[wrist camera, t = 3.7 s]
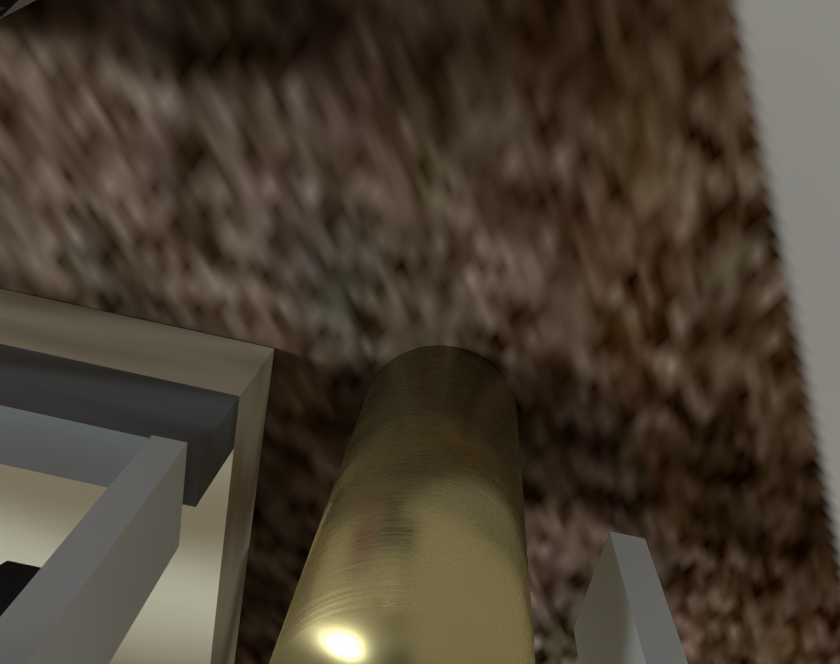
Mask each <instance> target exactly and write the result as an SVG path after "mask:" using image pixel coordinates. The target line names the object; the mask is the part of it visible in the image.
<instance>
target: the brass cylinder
mask: <svg viewBox="0 0 840 664" xmlns="http://www.w3.org/2000/svg"><path fill="white" fill-rule="evenodd" d="M269 664H535V653H534V639H533V626H532V612H531V598H530V584H529V570H528V556H527V542H526V529H525V515H524V501H523V487H522V473H521V459H520V445H519V431H518V418H517V406H516V402H515V398H514V395H513V393H512V390H511V388H510V386H509V385H508V383H507V381H506V380H505V378H504V377H503V376H502V375H501V373H500V372H499V371H498V370H497V369H496V368H495V367H494V366H493V365H491V364H490V363H489V362H487V361H486V360H485V359H483V358H481V357H479V356H478V355H476V354H473V353H471V352H469V351H466V350H463V349H459V348H455V347H448V346H427V347H421V348H417V349H413V350H410V351H408V352H405V353H403V354H401V355H399V356H397V357H396V358H394V359H393V360H391V361H390V362H388V363H387V364H386V365H385V366H384V367H383V368H382V369H381V370H380V371H379V373H378V374H377V375H376V376H375V378H374V380H373V381H372V383H371V385H370V387H369V390H368V392H367V395H366V398H365V400H364V403H363V406H362V409H361V411H360V414H359V417H358V420H357V422H356V425H355V428H354V431H353V433H352V436H351V439H350V442H349V444H348V447H347V450H346V453H345V455H344V458H343V461H342V464H341V467H340V469H339V472H338V475H337V478H336V480H335V483H334V486H333V489H332V491H331V494H330V497H329V500H328V502H327V505H326V508H325V511H324V513H323V516H322V519H321V522H320V524H319V527H318V530H317V533H316V536H315V538H314V541H313V544H312V547H311V549H310V552H309V555H308V558H307V560H306V563H305V566H304V569H303V571H302V574H301V577H300V580H299V582H298V585H297V588H296V591H295V593H294V596H293V599H292V602H291V605H290V607H289V610H288V613H287V616H286V618H285V621H284V624H283V627H282V629H281V632H280V635H279V638H278V640H277V643H276V646H275V649H274V651H273V654H272V657H271V660H270V662H269Z"/></svg>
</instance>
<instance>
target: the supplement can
mask: <svg viewBox="0 0 840 664" xmlns="http://www.w3.org/2000/svg"><path fill="white" fill-rule="evenodd" d="M34 1H36V0H0V19H1V18H3V17H4V16H6V15H8V14H10V13H12V12H14V11H16V10H18V9H20V8H22V7H24V6H26V5H28V4H30V3H32V2H34Z"/></svg>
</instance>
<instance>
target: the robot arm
mask: <svg viewBox="0 0 840 664" xmlns="http://www.w3.org/2000/svg"><path fill="white" fill-rule="evenodd" d="M186 455H187V442H183V441H178V440H173V439H168V438H164V437H159V436H154V435H151V437H150V438H149V439H148V440H147V441H146V443H145V444H144V445H143V446H142V447H141V449H140V450H139V451H138V452H137V453H136V455H135V456H134V457H133V458H132V459H131V461H130V462H129V463H128V464H127V465H126V467H125V468H124V469H123V470H122V471H121V473H120V474H119V475H118V476H117V477H116V479H115V480H114V481H113V482H112V483H111V485H110V486H109V487H108V488H107V489H106V491H105V492H104V493H103V494H102V495H101V497H100V498H99V499H98V500H97V501H96V503H95V504H94V505H93V506H92V507H91V509H90V510H89V511H88V512H87V513H86V515H85V516H84V517H83V518H82V519H81V521H80V522H79V523H78V524H77V525H76V527H75V528H74V529H73V530H72V531H71V533H70V534H69V535H68V536H67V537H66V539H65V540H64V541H63V542H62V543H61V545H60V546H59V547H58V548H57V549H56V551H55V552H54V553H53V554H52V555H51V557H50V558H49V559H48V560H47V561H46V563H45V564H44V565H43V566H42V567H36V566H32V565H27V564H22V563H17V562H12V561H8V560H7V561H6V562H4V563H2V564H0V664H109V663H110V661H111V660H112V658H113V656H114V655H115V653H116V651H117V649H118V648H119V646H120V644H121V643H122V641H123V639H124V638H125V636H126V634H127V633H128V631H129V629H130V628H131V626H132V624H133V623H134V621H135V619H136V617H137V616H138V614H139V612H140V611H141V609H142V607H143V606H144V604H145V602H146V601H147V599H148V597H149V596H150V594H151V592H152V591H153V589H154V587H155V586H156V584H157V582H158V580H159V579H160V577H161V575H162V574H163V572H164V570H165V569H166V567H167V565H168V564H169V562H170V560H171V559H172V557H173V555H174V554H175V552H176V550H177V548H178V547H179V540H180V528H181V515H182V503H183V491H184V479H185V467H186ZM574 634H575V640H576V646H577V652H578V658H579V664H688V663H687V660H686V657H685V654H684V651H683V648H682V645H681V642H680V640H679V637H678V634H677V631H676V628H675V625H674V622H673V619H672V616H671V613H670V610H669V607H668V605H667V602H666V599H665V596H664V593H663V590H662V587H661V584H660V581H659V578H658V575H657V572H656V570H655V567H654V564H653V561H652V558H651V555H650V552H649V549H648V546H647V543H646V540H645V539H644V538H639V537H635V536H630V535H625V534H620V533H616V532H611V531H609V534H608V537H607V539H606V542H605V545H604V548H603V550H602V553H601V556H600V558H599V561H598V564H597V567H596V569H595V572H594V575H593V577H592V580H591V583H590V586H589V588H588V591H587V594H586V596H585V599H584V602H583V605H582V607H581V610H580V613H579V615H578V618H577V621H576V624H575V626H574Z"/></svg>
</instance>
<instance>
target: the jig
mask: <svg viewBox="0 0 840 664" xmlns="http://www.w3.org/2000/svg"><path fill="white" fill-rule="evenodd" d="M273 355H274V348H270V347H265V346H261V345H256V344H252V343H247V342H242V341H238V340H233V339H229V338H224V337H220V336H215V335H210V334H206V333H201V332H197V331H192V330H188V329H183V328H178V327H174V326H169V325H165V324H160V323H156V322H151V321H146V320H142V319H137V318H133V317H128V316H124V315H119V314H114V313H110V312H105V311H101V310H96V309H92V308H87V307H82V306H78V305H73V304H69V303H64V302H59V301H55V300H50V299H46V298H41V297H37V296H32V295H27V294H23V293H18V292H14V291H9V290H5V289H0V564H2V563H4V562H6V561H7V560H8V561H12V562H17V563H22V564H27V565H32V566H36V567H42V566H43V565H44V564H45V563H46V561H47V560H48V559H49V558H50V557H51V555H52V554H53V553H54V552H55V551H56V549H57V548H58V547H59V546H60V545H61V543H62V542H63V541H64V540H65V539H66V537H67V536H68V535H69V534H70V533H71V531H72V530H73V529H74V528H75V527H76V525H77V524H78V523H79V522H80V521H81V519H82V518H83V517H84V516H85V515H86V513H87V512H88V511H89V510H90V509H91V507H92V506H93V505H94V504H95V503H96V501H97V500H98V499H99V498H100V497H101V495H102V494H103V493H104V492H105V491H106V489H107V488H108V487H109V486H110V485H111V483H112V482H113V481H114V480H115V479H116V477H117V476H118V475H119V474H120V473H121V471H122V470H123V469H124V468H125V467H126V465H127V464H128V463H129V462H130V461H131V459H132V458H133V457H134V456H135V455H136V453H137V452H138V451H139V450H140V449H141V447H142V446H143V445H144V444H145V443H146V441H147V440H148V439H149V438H150V437H151V435H154V436H159V437H164V438H168V439H173V440H178V441H183V442H187V455H186V467H185V479H184V491H183V503H182V515H181V528H180V540H179V547H178V548H177V550H176V552H175V554H174V555H173V557H172V559H171V560H170V562H169V564H168V565H167V567H166V569H165V570H164V572H163V574H162V575H161V577H160V579H159V580H158V582H157V584H156V586H155V587H154V589H153V591H152V592H151V594H150V596H149V597H148V599H147V601H146V602H145V604H144V606H143V607H142V609H141V611H140V612H139V614H138V616H137V617H136V619H135V621H134V623H133V624H132V626H131V628H130V629H129V631H128V633H127V634H126V636H125V638H124V639H123V641H122V643H121V644H120V646H119V648H118V649H117V651H116V653H115V655H114V656H113V658H112V660H111V661H110V663H109V664H234V661H235V654H236V646H237V638H238V630H239V622H240V614H241V606H242V599H243V591H244V583H245V575H246V567H247V559H248V552H249V544H250V536H251V528H252V520H253V512H254V505H255V497H256V489H257V481H258V473H259V465H260V457H261V450H262V442H263V434H264V426H265V418H266V410H267V403H268V395H269V387H270V379H271V371H272V363H273Z"/></svg>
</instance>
